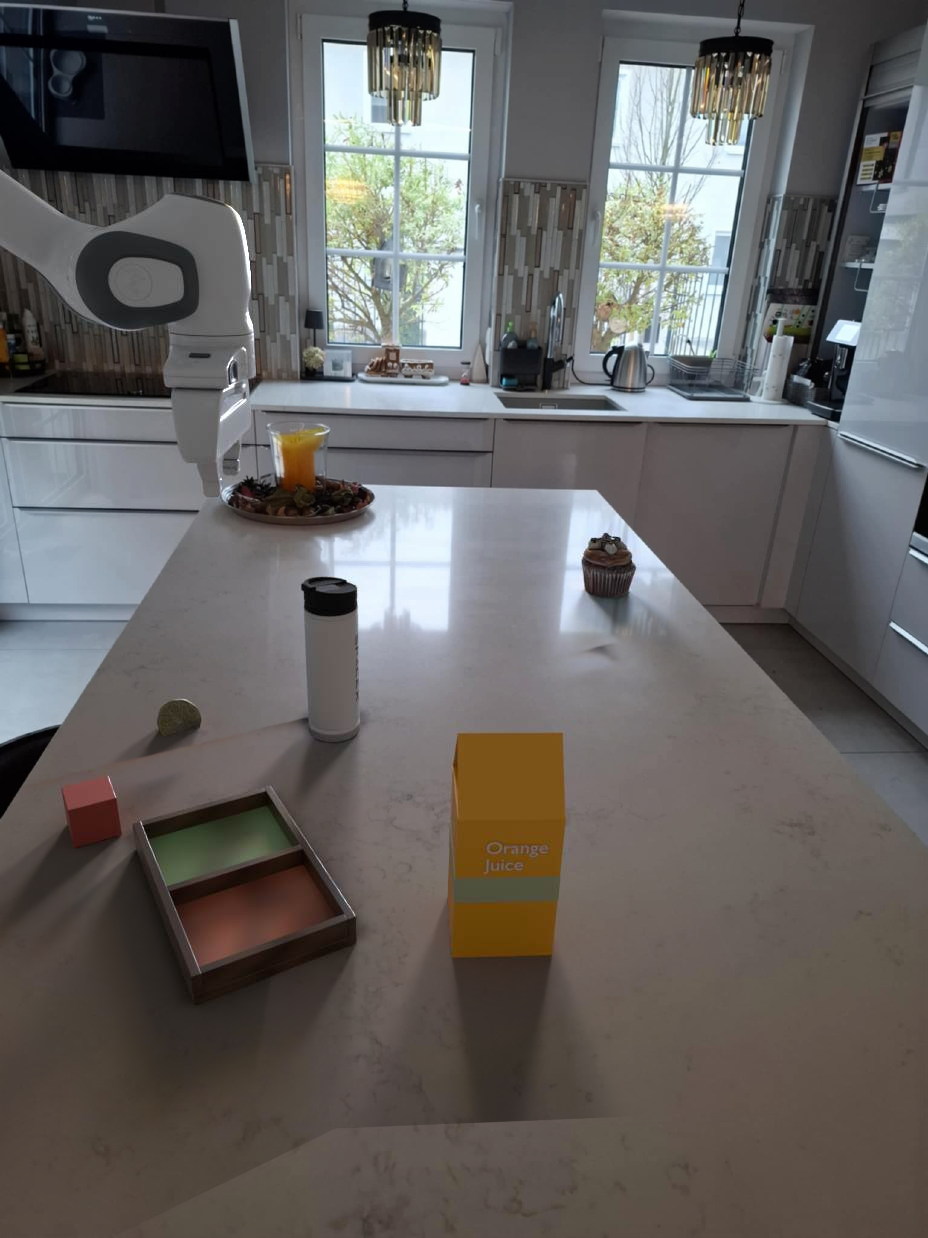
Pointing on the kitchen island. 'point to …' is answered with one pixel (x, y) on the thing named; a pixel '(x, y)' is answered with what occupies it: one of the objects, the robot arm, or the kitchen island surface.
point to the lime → (178, 717)
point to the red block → (91, 811)
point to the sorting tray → (240, 892)
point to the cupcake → (607, 567)
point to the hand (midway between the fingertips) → (223, 484)
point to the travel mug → (332, 658)
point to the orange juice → (505, 843)
